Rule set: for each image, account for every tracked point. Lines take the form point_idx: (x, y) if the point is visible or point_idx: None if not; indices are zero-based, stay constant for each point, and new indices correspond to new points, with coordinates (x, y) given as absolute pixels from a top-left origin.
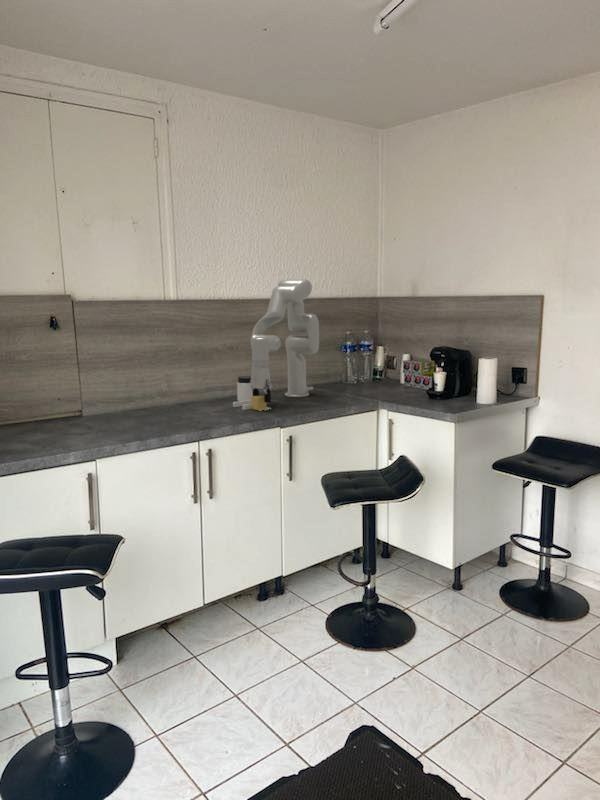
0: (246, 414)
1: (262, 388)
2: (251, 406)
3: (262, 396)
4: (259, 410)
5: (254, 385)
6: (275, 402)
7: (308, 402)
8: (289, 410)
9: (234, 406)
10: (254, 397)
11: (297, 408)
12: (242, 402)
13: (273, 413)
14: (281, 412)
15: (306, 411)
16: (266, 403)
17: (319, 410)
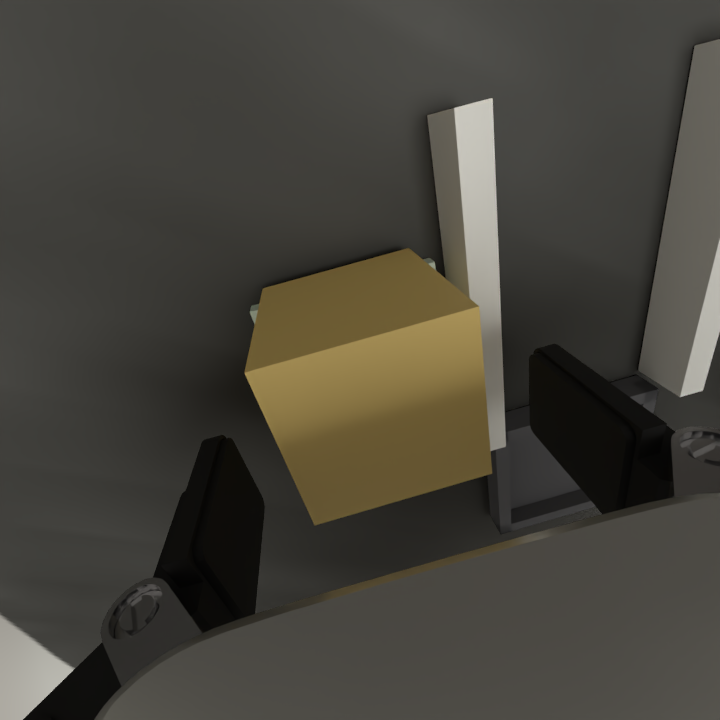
0: (47, 14)
1: (102, 713)
2: (415, 254)
3: (367, 483)
4: (251, 308)
5: (613, 614)
6: (499, 526)
7: None
8: None
9: (700, 55)
10: (350, 341)
11: (257, 607)
12: (707, 214)
13: (66, 414)
14: (110, 490)
15: None
16: (496, 456)
17: None
